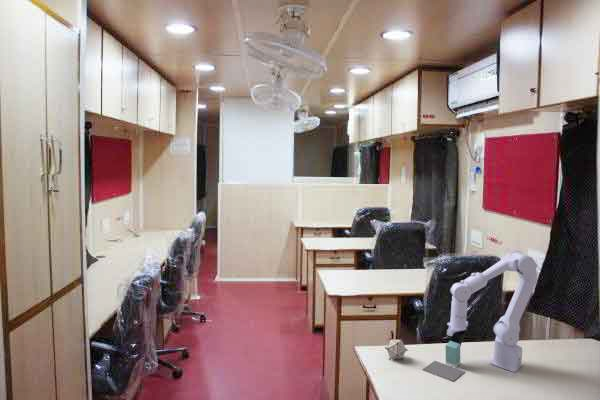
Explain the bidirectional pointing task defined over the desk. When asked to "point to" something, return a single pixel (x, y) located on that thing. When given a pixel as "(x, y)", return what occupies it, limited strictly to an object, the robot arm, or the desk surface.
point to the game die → (396, 348)
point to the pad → (443, 370)
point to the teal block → (453, 354)
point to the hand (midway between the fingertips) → (456, 348)
